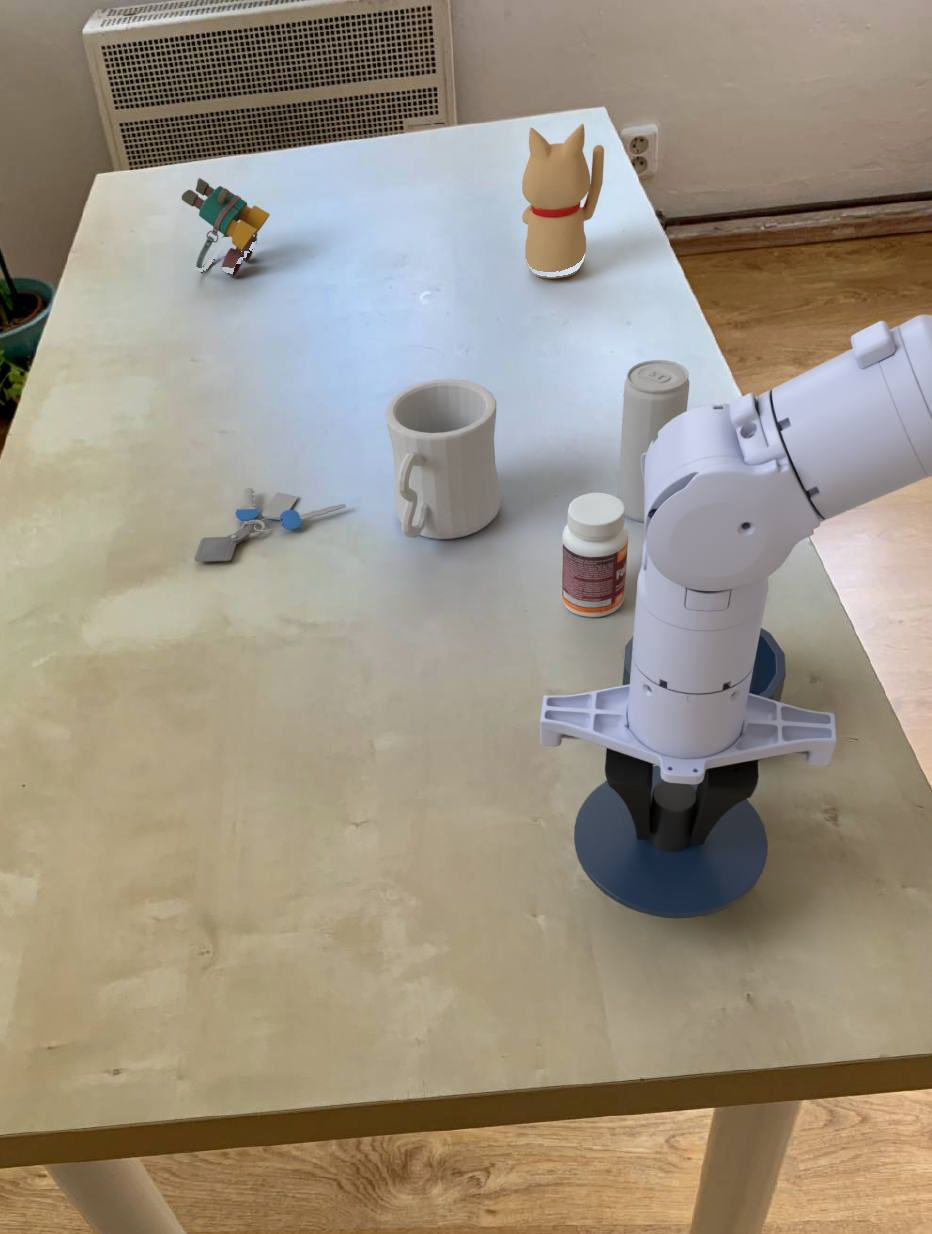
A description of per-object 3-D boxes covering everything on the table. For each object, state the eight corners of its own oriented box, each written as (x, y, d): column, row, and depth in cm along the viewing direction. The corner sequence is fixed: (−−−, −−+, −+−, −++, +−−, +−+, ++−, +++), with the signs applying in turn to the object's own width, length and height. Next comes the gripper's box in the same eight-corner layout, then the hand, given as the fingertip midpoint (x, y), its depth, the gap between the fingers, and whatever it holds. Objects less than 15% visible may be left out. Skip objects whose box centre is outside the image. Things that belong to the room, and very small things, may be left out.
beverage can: (641, 484, 93) (652, 352, 84) (688, 505, 91) (704, 371, 82) (604, 510, 91) (611, 378, 83) (650, 532, 89) (662, 398, 80)
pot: (805, 724, 73) (820, 665, 69) (693, 796, 70) (703, 739, 66) (696, 647, 79) (704, 589, 75) (590, 710, 76) (592, 653, 72)
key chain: (205, 575, 92) (202, 567, 91) (166, 529, 97) (164, 521, 96) (348, 511, 95) (346, 503, 95) (304, 470, 101) (302, 463, 100)
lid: (806, 859, 62) (821, 806, 59) (663, 959, 59) (670, 909, 55) (671, 750, 69) (677, 698, 65) (536, 835, 65) (535, 784, 62)
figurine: (599, 245, 125) (605, 101, 114) (599, 284, 119) (605, 135, 108) (524, 249, 127) (523, 107, 116) (520, 288, 120) (518, 141, 109)
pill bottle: (628, 616, 82) (635, 525, 76) (564, 621, 83) (566, 530, 77) (619, 577, 85) (625, 485, 79) (558, 581, 86) (559, 491, 80)
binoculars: (222, 303, 131) (249, 232, 124) (155, 260, 130) (178, 186, 122) (251, 268, 137) (279, 199, 129) (187, 227, 136) (211, 154, 128)
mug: (423, 473, 98) (414, 370, 91) (517, 491, 95) (515, 385, 87) (359, 554, 91) (343, 449, 84) (458, 576, 88) (451, 470, 80)
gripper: (532, 702, 52) (534, 872, 62) (861, 723, 48) (807, 899, 58) (547, 605, 56) (547, 778, 66) (849, 618, 53) (801, 798, 63)
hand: (669, 828), depth 62 cm, fingers closed on lid, 2 cm apart
